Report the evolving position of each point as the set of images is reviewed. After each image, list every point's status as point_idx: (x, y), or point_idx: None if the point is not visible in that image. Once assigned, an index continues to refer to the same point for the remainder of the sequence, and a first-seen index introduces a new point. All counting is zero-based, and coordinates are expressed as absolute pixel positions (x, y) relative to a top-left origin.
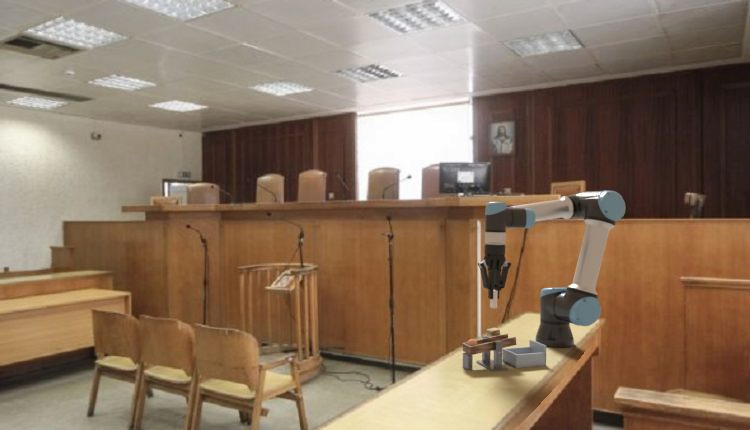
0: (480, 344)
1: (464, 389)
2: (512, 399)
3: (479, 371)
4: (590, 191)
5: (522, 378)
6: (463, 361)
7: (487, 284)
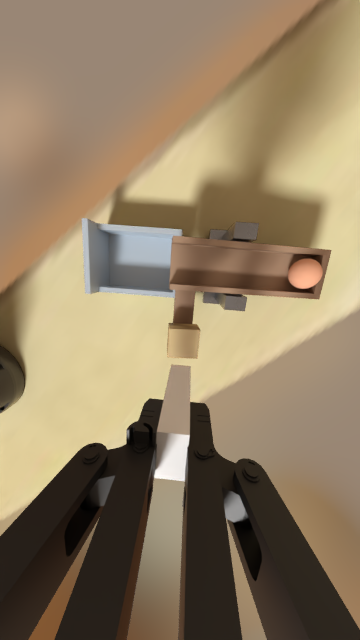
0: (295, 249)
1: None
2: (354, 8)
3: None
4: None
5: (218, 161)
6: None
7: (270, 505)
